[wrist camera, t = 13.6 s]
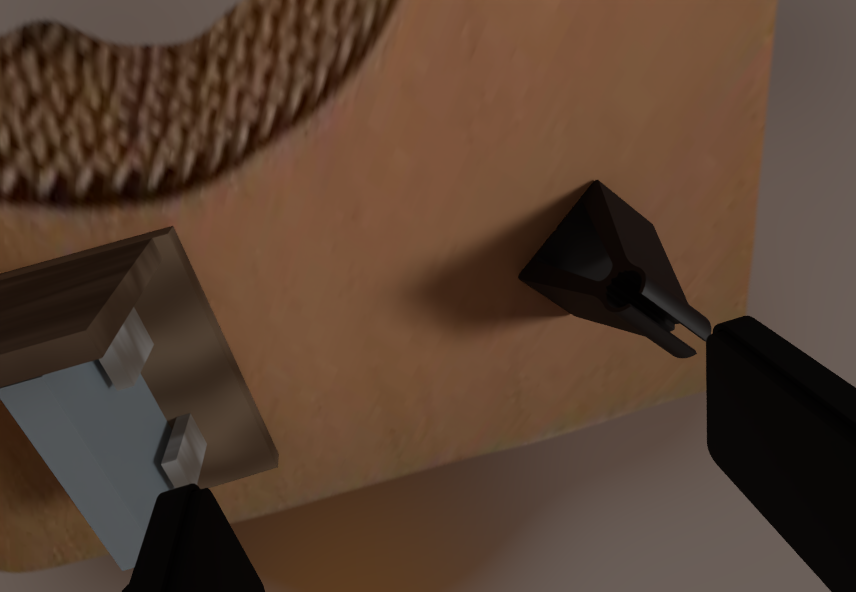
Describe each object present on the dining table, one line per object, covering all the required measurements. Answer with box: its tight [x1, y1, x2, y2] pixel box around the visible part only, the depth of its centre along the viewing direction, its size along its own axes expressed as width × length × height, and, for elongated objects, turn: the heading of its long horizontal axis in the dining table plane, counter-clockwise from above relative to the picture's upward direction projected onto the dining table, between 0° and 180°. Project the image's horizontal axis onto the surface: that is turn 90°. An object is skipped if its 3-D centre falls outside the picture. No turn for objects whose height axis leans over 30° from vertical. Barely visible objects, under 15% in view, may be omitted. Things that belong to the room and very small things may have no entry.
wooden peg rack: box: [0, 226, 279, 489], centre depth 36 cm, size 20×14×14 cm
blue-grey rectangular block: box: [0, 359, 175, 571], centre depth 37 cm, size 14×3×9 cm, turn 13°
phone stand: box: [518, 180, 711, 358], centre depth 39 cm, size 9×6×12 cm, turn 143°
